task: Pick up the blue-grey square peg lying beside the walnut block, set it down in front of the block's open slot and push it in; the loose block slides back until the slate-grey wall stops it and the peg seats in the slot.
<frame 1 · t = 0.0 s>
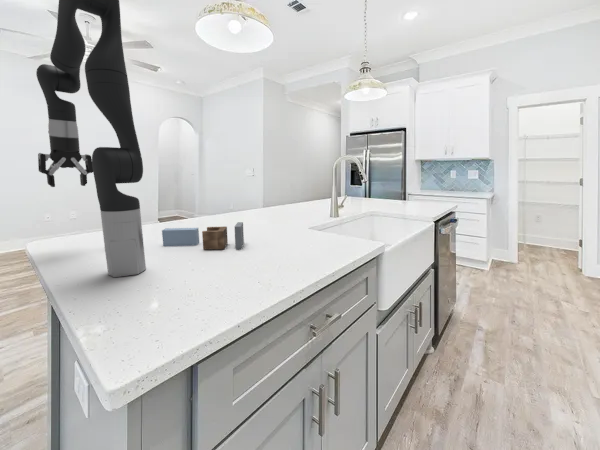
hand: (68, 186, 104), 22 cm above the worktop, tool pointing down, fingers open, 8 cm apart
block: (215, 237, 113), point 3 cm above the worktop, slide at 0.0 cm
peg: (181, 244, 117), on the worktop
wall: (239, 246, 114), on the worktop
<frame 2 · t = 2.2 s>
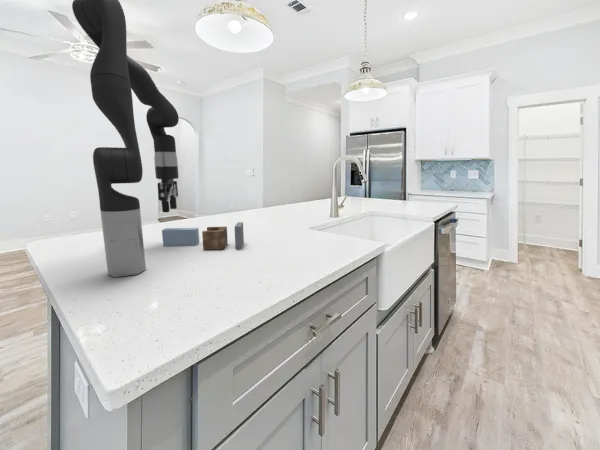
hand: (169, 210, 115), 13 cm above the worktop, tool pointing down, fingers open, 8 cm apart
nothing on the worktop moved.
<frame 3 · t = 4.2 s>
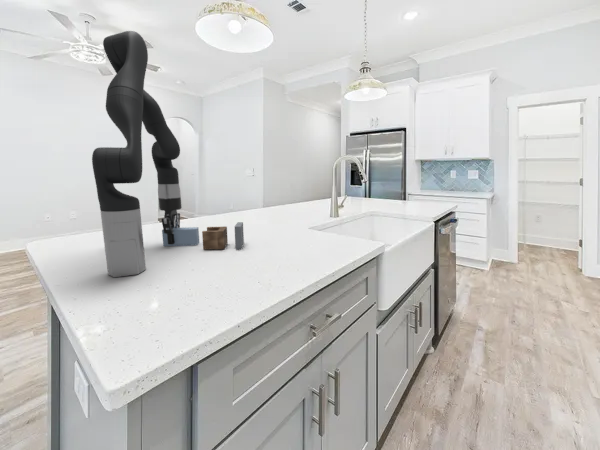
hand: (173, 242, 117), 1 cm above the worktop, tool pointing down, fingers closed on peg, 4 cm apart
peg: (181, 244, 117), on the worktop, touching gripper
everything else where it was.
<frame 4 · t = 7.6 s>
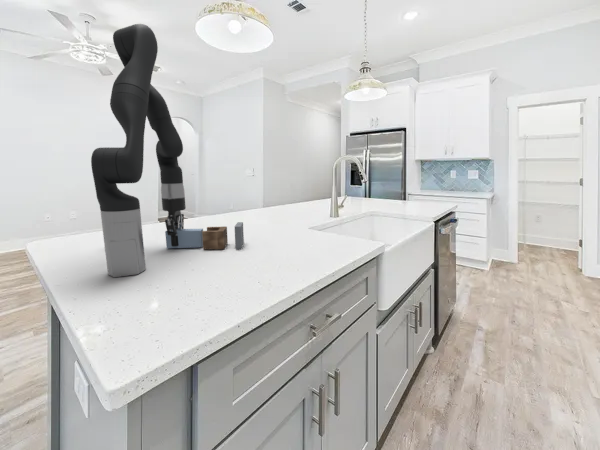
hand: (177, 244, 112), 1 cm above the worktop, tool pointing down, fingers closed on peg, 4 cm apart
peg: (185, 246, 113), on the worktop, touching gripper
everything else where it was.
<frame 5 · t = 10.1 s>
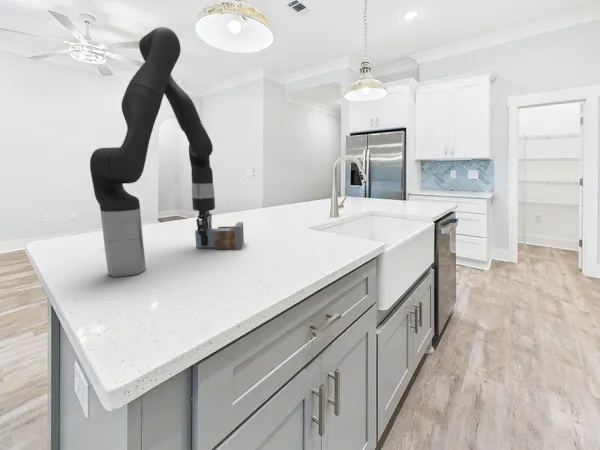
hand: (206, 243, 113), 1 cm above the worktop, tool pointing down, fingers closed on peg, 4 cm apart
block: (226, 237, 113), point 3 cm above the worktop, slide at 4.0 cm, touching peg, wall
peg: (214, 245, 114), on the worktop, touching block, gripper
everything else where it was.
when the fingers open (1 cm above the worktop, at t = 11.3 s): peg stays where it is, on the worktop.
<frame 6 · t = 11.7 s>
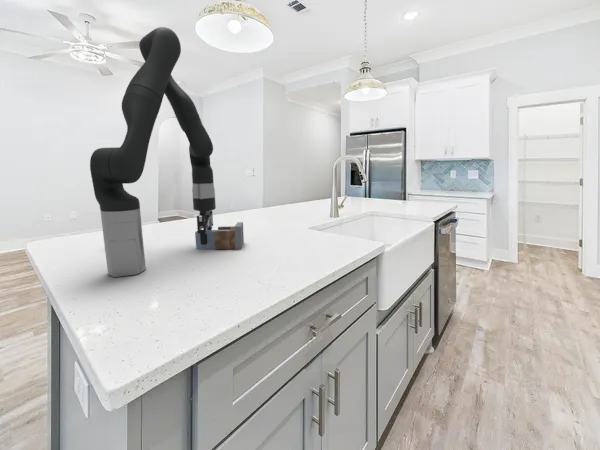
hand: (206, 241, 113), 2 cm above the worktop, tool pointing down, fingers open, 8 cm apart
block: (226, 237, 113), point 3 cm above the worktop, slide at 4.0 cm, touching wall
peg: (214, 247, 114), on the worktop
everything else where it was.
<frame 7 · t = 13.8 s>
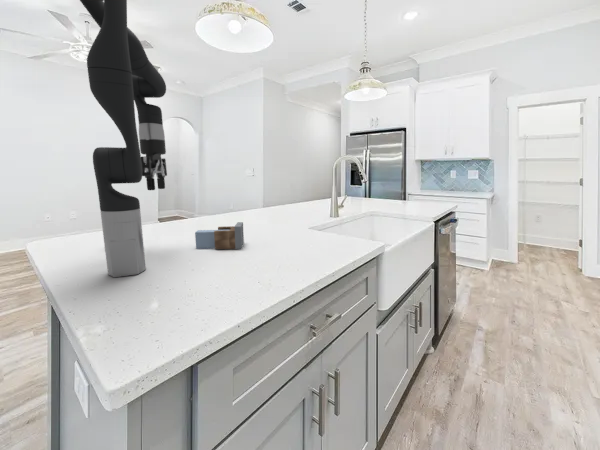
hand: (156, 189, 105), 21 cm above the worktop, tool pointing down, fingers open, 8 cm apart
nothing on the worktop moved.
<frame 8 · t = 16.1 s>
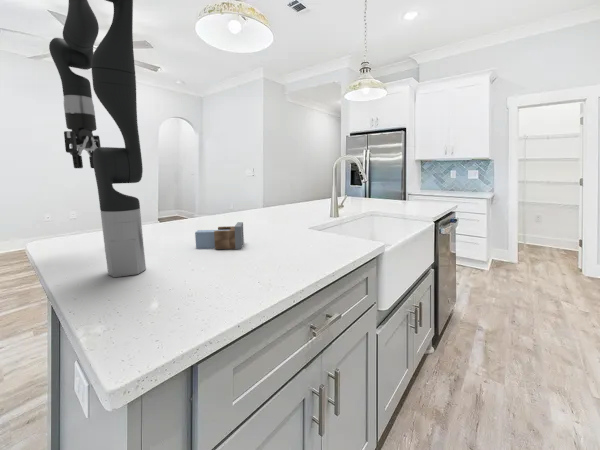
hand: (87, 168, 97), 28 cm above the worktop, tool pointing down, fingers open, 8 cm apart
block: (226, 237, 113), point 3 cm above the worktop, slide at 4.0 cm, touching peg, wall
peg: (214, 247, 114), on the worktop, touching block
everything else where it was.
at the end: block slide at 4.0 cm; peg 1.3 cm from the target spot on the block, point 0.0 cm above the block's base; the gripper is holding nothing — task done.
